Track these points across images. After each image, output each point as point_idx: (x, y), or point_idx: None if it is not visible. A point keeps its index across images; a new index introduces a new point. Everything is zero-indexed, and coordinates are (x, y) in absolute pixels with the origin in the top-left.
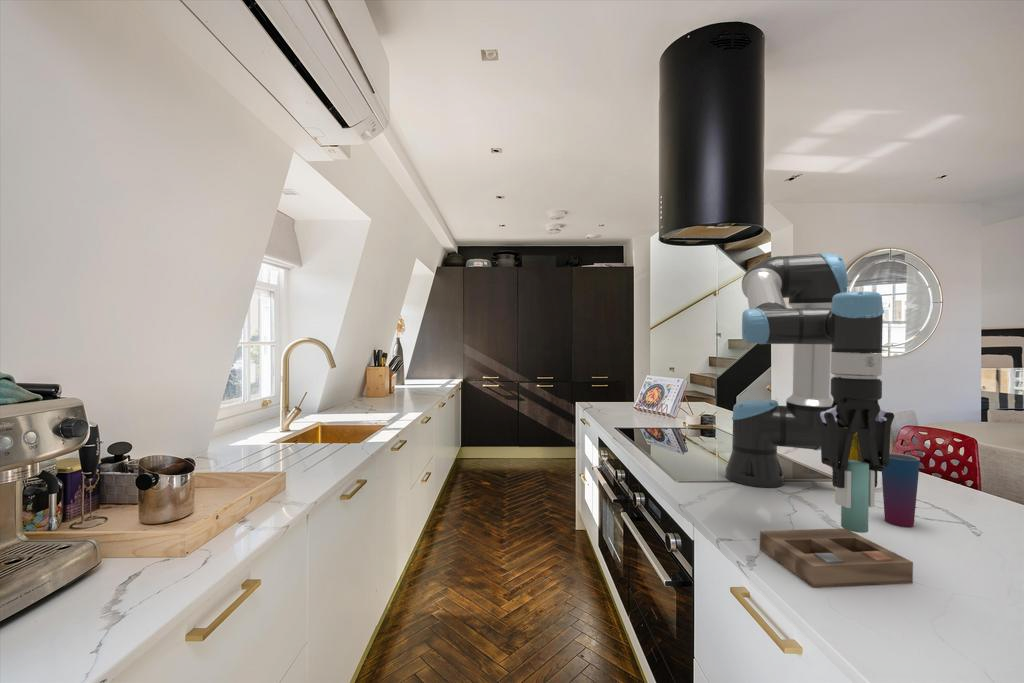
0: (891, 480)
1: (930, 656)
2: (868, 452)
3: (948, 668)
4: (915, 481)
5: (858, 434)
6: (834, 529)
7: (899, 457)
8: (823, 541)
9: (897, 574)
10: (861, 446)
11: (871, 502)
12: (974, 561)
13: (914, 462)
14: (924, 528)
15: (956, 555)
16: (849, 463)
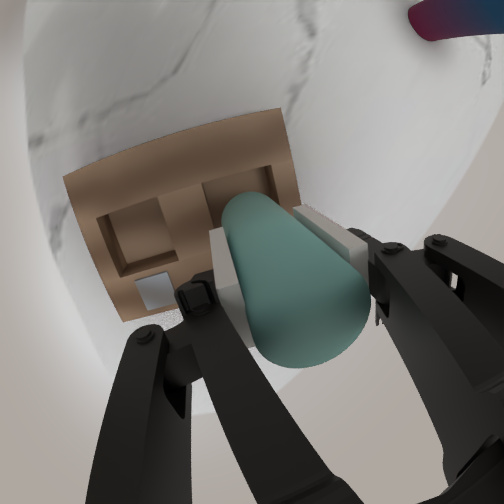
0: (468, 7)
1: (206, 399)
2: (404, 346)
3: (211, 408)
4: (496, 33)
5: (463, 386)
6: (248, 119)
7: None
8: (182, 202)
9: None
10: (420, 329)
11: None
12: (436, 162)
13: None
14: (444, 48)
15: (430, 143)
16: (268, 350)
